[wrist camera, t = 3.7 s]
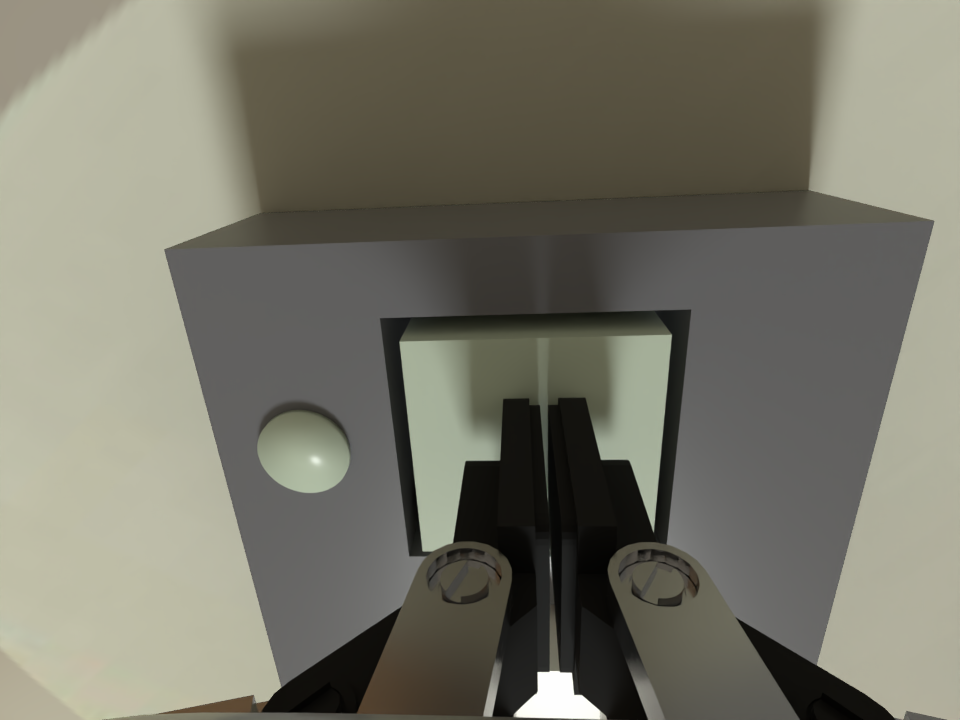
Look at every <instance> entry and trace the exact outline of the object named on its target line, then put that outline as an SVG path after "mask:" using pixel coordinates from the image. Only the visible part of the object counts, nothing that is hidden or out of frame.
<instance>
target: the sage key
mask: <svg viewBox="0 0 960 720" xmlns="http://www.w3.org/2000/svg"><path fill="white" fill-rule="evenodd" d="M671 339H672V334H671V333H670V331H669V330H668V329H667V327H666V326H665V325H664V323H663V322H662V321H661V319H660V318H659V317H658V315H657V314H656V313H655V311H654V310H653V311H618V312H582V313H547V314H511V315H475V316H440V317H412V318H411V320H410V322H409V324H408V326H407V328H406V330H405V332H404V334H403V336H402V338H401V340H400V351H401V360H402V369H403V378H404V387H405V396H406V405H407V414H408V423H409V432H410V441H411V450H412V459H413V468H414V478H415V487H416V496H417V505H418V514H419V523H420V532H421V541H422V550H423V551H434V550H436V549H439V548H441V547H443V546H445V545H447V544H452V543H453V539H454V532H455V525H456V519H457V512H458V505H459V499H460V492H461V485H462V479H463V472H464V466H465V462H466V461H499V460H500V453H501V432H502V411H503V399H515V398H529V403H530V405H540V412H541V424H542V437H543V449H544V461H545V473H546V486H547V498H548V405H558V398H583V397H585V398H586V401H587V405H588V409H589V413H590V417H591V421H592V425H593V430H594V434H595V438H596V442H597V446H598V450H599V454H600V458H601V460H629V461H630V463H631V466H632V469H633V472H634V475H635V478H636V481H637V484H638V487H639V490H640V493H641V496H642V499H643V502H644V505H645V508H646V511H647V514H648V517H649V520H650V523H651V526H652V529H653V532H654V523H655V512H656V502H657V491H658V480H659V469H660V458H661V448H662V437H663V426H664V415H665V404H666V393H667V383H668V372H669V361H670V350H671Z"/></svg>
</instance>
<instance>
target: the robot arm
mask: <svg viewBox="0 0 960 720" xmlns="http://www.w3.org/2000/svg"><path fill="white" fill-rule="evenodd" d="M550 555H551V568H552V581H553V594H554V606H555V619H556V632H557V645H558V658H559V669H560V673H572V679H573V689H574V695H582V696H583V697H585V698H586V699H587V700H588V701H589V702H590V703H592V704H593V705H594V706H595V707H596V708H597V709H599V710H600V719H565V718H526V717H516V712H517V711H518V710H519V709H520V708H521V707H522V706H523V705H524V704H525V703H526V702H527V701H528V700H529V699H530V698H532V697H533V696H534V695H535V694H537V692H538V672H550ZM104 720H901V719H897V718H894V717H893V716H892V715H891V714H890V713H889V712H888V711H887V710H886V709H885V708H883V707H882V706H881V705H879V704H878V703H877V702H875V701H874V700H872V699H871V698H870V697H868V696H867V695H865V694H864V693H862V692H860V691H859V690H857V689H855V688H854V687H852V686H850V685H849V684H847V683H845V682H844V681H842V680H840V679H839V678H837V677H835V676H834V675H832V674H830V673H828V672H827V671H825V670H823V669H822V668H820V667H818V666H817V665H815V664H813V663H812V662H810V661H808V660H807V659H805V658H803V657H802V656H800V655H798V654H797V653H795V652H793V651H792V650H790V649H788V648H786V647H785V646H783V645H781V644H780V643H778V642H776V641H775V640H773V639H771V638H770V637H768V636H766V635H765V634H763V633H761V632H760V631H758V630H756V629H755V628H753V627H751V626H750V625H748V624H746V623H744V622H743V621H741V620H739V619H738V618H736V617H735V616H734V614H733V613H732V611H731V610H730V608H729V606H728V605H727V603H726V602H725V600H724V598H723V597H722V595H721V594H720V592H719V590H718V589H717V587H716V586H715V584H714V582H713V581H712V579H711V578H710V576H709V575H708V573H707V571H706V570H705V569H704V568H703V567H702V565H701V564H700V563H699V562H698V561H697V560H696V559H695V558H693V557H692V556H690V555H689V554H687V553H686V552H684V551H682V550H680V549H677V548H675V547H673V546H670V545H666V544H661V543H657V541H656V538H655V535H654V532H653V529H652V526H651V523H650V520H649V517H648V514H647V511H646V508H645V505H644V502H643V499H642V496H641V493H640V490H639V487H638V484H637V481H636V478H635V475H634V472H633V469H632V466H631V463H630V461H629V460H601V458H600V454H599V450H598V446H597V442H596V438H595V434H594V430H593V425H592V421H591V417H590V413H589V409H588V405H587V401H586V398H585V397H583V398H558V405H548V498H547V486H546V473H545V461H544V449H543V437H542V424H541V412H540V405H530V403H529V398H515V399H503V411H502V432H501V453H500V460H499V461H466V462H465V466H464V472H463V479H462V485H461V492H460V499H459V505H458V512H457V519H456V525H455V532H454V539H453V543H452V544H447V545H445V546H443V547H441V548H439V549H436V550H434V551H433V552H432V553H431V554H430V555H428V556H427V557H426V558H425V559H424V560H423V562H422V563H421V565H420V566H419V568H418V570H417V572H416V574H415V577H414V579H413V582H412V584H411V586H410V589H409V591H408V593H407V596H406V598H405V600H404V603H403V605H402V606H401V607H400V608H398V609H397V610H395V611H394V612H392V613H391V614H389V615H388V616H386V617H385V618H383V619H382V620H380V621H379V622H377V623H376V624H374V625H373V626H371V627H370V628H368V629H367V630H365V631H364V632H362V633H361V634H359V635H358V636H356V637H355V638H353V639H352V640H350V641H349V642H347V643H346V644H344V645H343V646H341V647H340V648H338V649H337V650H335V651H334V652H332V653H331V654H329V655H328V656H326V657H325V658H323V659H322V660H320V661H319V662H317V663H316V664H314V665H313V666H311V667H310V668H308V669H307V670H305V671H304V672H302V673H301V674H299V675H298V676H296V677H295V678H293V679H292V680H290V681H289V682H288V683H287V684H285V685H284V686H283V687H282V688H281V689H279V690H278V691H277V692H276V693H275V694H274V695H273V696H272V697H271V699H270V700H269V701H266V702H261V703H256V701H255V698H254V695H251V696H246V697H241V698H236V699H231V700H226V701H221V702H215V703H210V704H205V705H200V706H195V707H190V708H185V709H180V710H174V711H169V712H164V713H159V714H153V715H139V716H130V717H121V718H113V719H104ZM903 720H945V719H941V718H936V717H932V716H927V715H922V714H918V713H913V712H909V711H906V714H905V716H904V719H903Z"/></svg>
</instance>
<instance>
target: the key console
mask: <svg viewBox="0 0 960 720" xmlns="http://www.w3.org/2000/svg"><path fill="white" fill-rule="evenodd" d="M933 224H934V221H933V220H929V219H925V218H921V217H916V216H912V215H908V214H904V213H900V212H896V211H892V210H888V209H884V208H879V207H875V206H871V205H867V204H863V203H859V202H855V201H851V200H847V199H842V198H838V197H834V196H830V195H826V194H822V193H818V192H814V191H810V190H808V191H784V192H760V193H736V194H711V195H687V196H663V197H639V198H614V199H590V200H566V201H542V202H517V203H493V204H469V205H445V206H420V207H396V208H372V209H348V210H323V211H299V212H275V213H260V214H257V215H254V216H252V217H249V218H246V219H244V220H241V221H238V222H236V223H233V224H231V225H228V226H225V227H223V228H220V229H217V230H215V231H212V232H209V233H207V234H204V235H201V236H199V237H196V238H194V239H191V240H188V241H186V242H183V243H180V244H178V245H175V246H172V247H170V248H167V249H164V250H165V254H166V258H167V262H168V265H169V269H170V273H171V277H172V280H173V284H174V288H175V291H176V295H177V299H178V303H179V306H180V310H181V314H182V318H183V321H184V325H185V329H186V332H187V336H188V340H189V344H190V347H191V351H192V355H193V359H194V362H195V366H196V370H197V373H198V377H199V381H200V385H201V388H202V392H203V396H204V400H205V403H206V407H207V411H208V415H209V418H210V422H211V426H212V429H213V433H214V437H215V441H216V444H217V448H218V452H219V456H220V459H221V463H222V467H223V470H224V474H225V478H226V482H227V485H228V489H229V493H230V497H231V500H232V504H233V508H234V512H235V515H236V519H237V523H238V526H239V530H240V534H241V538H242V541H243V545H244V549H245V553H246V556H247V560H248V564H249V567H250V571H251V575H252V579H253V582H254V586H255V590H256V594H257V597H258V601H259V605H260V608H261V612H262V616H263V620H264V623H265V627H266V631H267V635H268V638H269V642H270V646H271V650H272V653H273V657H274V661H275V664H276V668H277V672H278V676H279V679H280V683H281V687H283V686H284V685H285V684H287V683H288V682H289V681H290V680H292V679H293V678H295V677H296V676H298V675H299V674H301V673H302V672H304V671H305V670H307V669H308V668H310V667H311V666H313V665H314V664H316V663H317V662H319V661H320V660H322V659H323V658H325V657H326V656H328V655H329V654H331V653H332V652H334V651H335V650H337V649H338V648H340V647H341V646H343V645H344V644H346V643H347V642H349V641H350V640H352V639H353V638H355V637H356V636H358V635H359V634H361V633H362V632H364V631H365V630H367V629H368V628H370V627H371V626H373V625H374V624H376V623H377V622H379V621H380V620H382V619H383V618H385V617H386V616H388V615H389V614H391V613H392V612H394V611H395V610H397V609H398V608H400V607H401V606H402V605H403V603H404V600H405V598H406V596H407V593H408V591H409V589H410V586H411V584H412V582H413V579H414V577H415V574H416V572H417V570H418V568H419V566H420V565H421V563H422V562H423V560H424V559H425V558H426V557H427V556H428V555H430V554H431V553H432V552H433V551H423V550H422V541H421V532H420V523H419V514H418V505H417V496H416V487H415V478H414V468H413V459H412V450H411V441H410V432H409V423H408V414H407V405H406V396H405V387H404V378H403V369H402V360H401V351H400V340H401V338H402V336H403V334H404V332H405V330H406V328H407V326H408V324H409V322H410V320H411V318H412V317H440V316H475V315H511V314H547V313H582V312H618V311H653V310H654V311H655V313H656V314H657V315H658V317H659V318H660V319H661V321H662V322H663V323H664V325H665V326H666V327H667V329H668V330H669V331H670V333H671V334H672V339H671V350H670V361H669V372H668V383H667V393H666V404H665V415H664V426H663V437H662V448H661V458H660V469H659V480H658V491H657V502H656V512H655V523H654V535H655V538H656V541H657V543H661V544H666V545H670V546H673V547H675V548H677V549H680V550H682V551H684V552H686V553H687V554H689V555H690V556H692V557H693V558H695V559H696V560H697V561H698V562H699V563H700V564H701V565H702V567H703V568H704V569H705V570H706V571H707V573H708V575H709V576H710V578H711V579H712V581H713V582H714V584H715V586H716V587H717V589H718V590H719V592H720V594H721V595H722V597H723V598H724V600H725V602H726V603H727V605H728V606H729V608H730V610H731V611H732V613H733V614H734V616H735V617H736V618H738V619H739V620H741V621H743V622H744V623H746V624H748V625H750V626H751V627H753V628H755V629H756V630H758V631H760V632H761V633H763V634H765V635H766V636H768V637H770V638H771V639H773V640H775V641H776V642H778V643H780V644H781V645H783V646H785V647H786V648H788V649H790V650H792V651H793V652H795V653H797V654H798V655H800V656H802V657H803V658H805V659H807V660H808V661H810V662H812V663H813V664H815V665H817V662H818V658H819V654H820V650H821V647H822V643H823V639H824V635H825V631H826V628H827V624H828V620H829V616H830V613H831V609H832V605H833V601H834V598H835V594H836V590H837V586H838V582H839V579H840V575H841V571H842V567H843V564H844V560H845V556H846V552H847V549H848V545H849V541H850V537H851V533H852V530H853V526H854V522H855V518H856V515H857V511H858V507H859V503H860V500H861V496H862V492H863V488H864V484H865V481H866V477H867V473H868V469H869V466H870V462H871V458H872V454H873V451H874V447H875V443H876V439H877V435H878V432H879V428H880V424H881V420H882V417H883V413H884V409H885V405H886V402H887V398H888V394H889V390H890V386H891V383H892V379H893V375H894V371H895V368H896V364H897V360H898V356H899V353H900V349H901V345H902V341H903V337H904V334H905V330H906V326H907V322H908V319H909V315H910V311H911V307H912V304H913V300H914V296H915V292H916V288H917V285H918V281H919V277H920V273H921V270H922V266H923V262H924V258H925V255H926V251H927V247H928V243H929V239H930V236H931V232H932V228H933ZM550 604H554V594H553V581H552V568H551V555H550Z"/></svg>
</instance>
